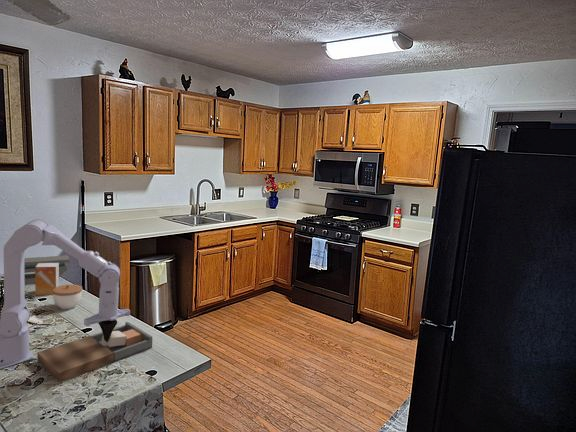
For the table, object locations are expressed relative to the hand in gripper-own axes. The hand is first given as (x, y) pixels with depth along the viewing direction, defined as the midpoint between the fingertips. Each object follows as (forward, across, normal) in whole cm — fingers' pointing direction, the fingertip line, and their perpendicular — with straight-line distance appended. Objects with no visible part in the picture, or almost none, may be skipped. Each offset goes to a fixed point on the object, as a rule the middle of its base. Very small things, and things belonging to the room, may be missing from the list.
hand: (106, 340), depth 128 cm
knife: (+5, -5, +36) cm, 37 cm away
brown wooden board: (+4, -10, 0) cm, 10 cm away
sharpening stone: (+4, +8, +84) cm, 85 cm away
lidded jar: (+4, +6, +45) cm, 46 cm away
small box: (+4, +6, +66) cm, 66 cm away
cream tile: (+2, +2, 0) cm, 3 cm away
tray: (+3, +5, 0) cm, 6 cm away
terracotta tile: (+3, +8, 0) cm, 9 cm away
